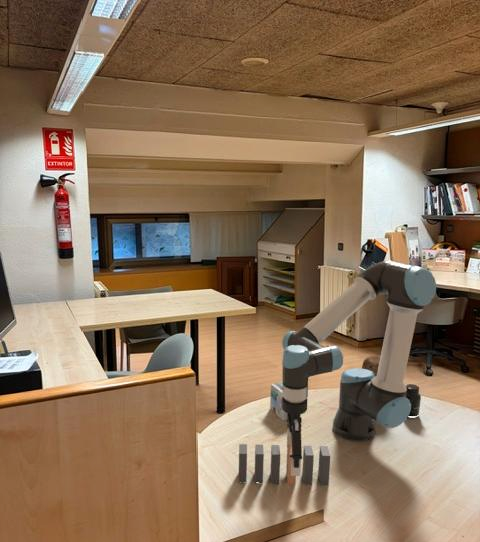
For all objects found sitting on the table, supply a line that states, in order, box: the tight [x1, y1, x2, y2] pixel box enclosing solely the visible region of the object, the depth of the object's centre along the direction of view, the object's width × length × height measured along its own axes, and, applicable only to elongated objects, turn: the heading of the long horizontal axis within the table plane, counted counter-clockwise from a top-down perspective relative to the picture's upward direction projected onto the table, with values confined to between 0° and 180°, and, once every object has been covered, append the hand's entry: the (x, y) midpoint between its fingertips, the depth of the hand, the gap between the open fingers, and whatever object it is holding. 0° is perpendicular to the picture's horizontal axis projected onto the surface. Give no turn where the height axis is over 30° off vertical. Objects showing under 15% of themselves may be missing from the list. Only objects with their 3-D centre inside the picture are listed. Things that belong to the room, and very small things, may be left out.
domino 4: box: [285, 444, 297, 485], centre depth 140 cm, size 2×5×10 cm, turn 179°
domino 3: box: [270, 444, 281, 485], centre depth 140 cm, size 2×5×10 cm, turn 179°
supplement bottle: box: [405, 383, 422, 416], centre depth 179 cm, size 7×7×12 cm
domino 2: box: [254, 443, 265, 484], centre depth 140 cm, size 2×5×10 cm, turn 179°
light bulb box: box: [269, 381, 287, 422], centre depth 179 cm, size 11×7×11 cm, turn 27°
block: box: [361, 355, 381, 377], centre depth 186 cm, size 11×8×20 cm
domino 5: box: [301, 445, 315, 486], centre depth 140 cm, size 2×5×10 cm, turn 179°
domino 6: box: [317, 445, 331, 486], centre depth 140 cm, size 2×5×10 cm, turn 179°
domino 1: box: [238, 443, 248, 483], centre depth 140 cm, size 2×5×10 cm, turn 179°
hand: (293, 460), depth 140 cm, fingers open, 13 cm apart
